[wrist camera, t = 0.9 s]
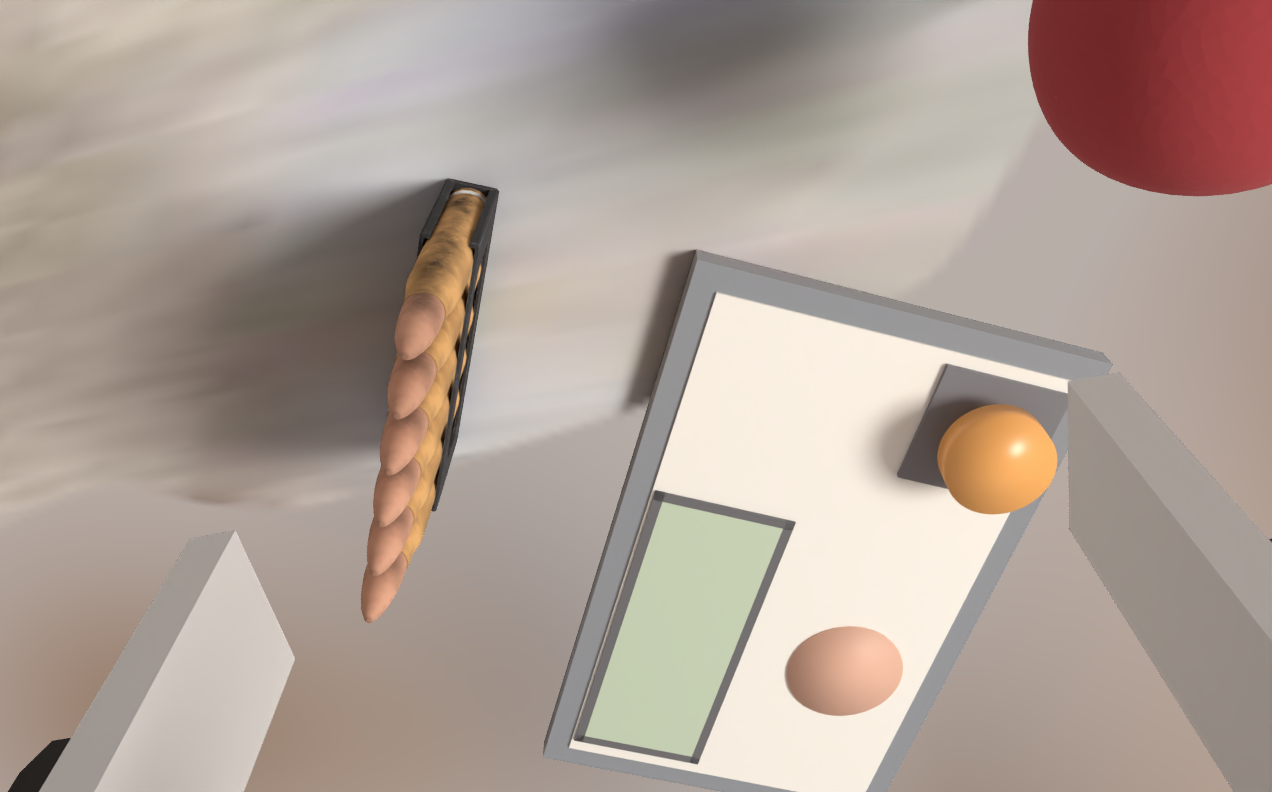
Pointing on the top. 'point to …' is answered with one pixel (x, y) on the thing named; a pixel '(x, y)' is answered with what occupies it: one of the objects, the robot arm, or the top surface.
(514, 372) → the top surface
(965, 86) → the top surface
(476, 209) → the ammunition clip
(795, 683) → the board
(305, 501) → the top surface
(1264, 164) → the lollipop
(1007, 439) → the button
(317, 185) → the top surface
